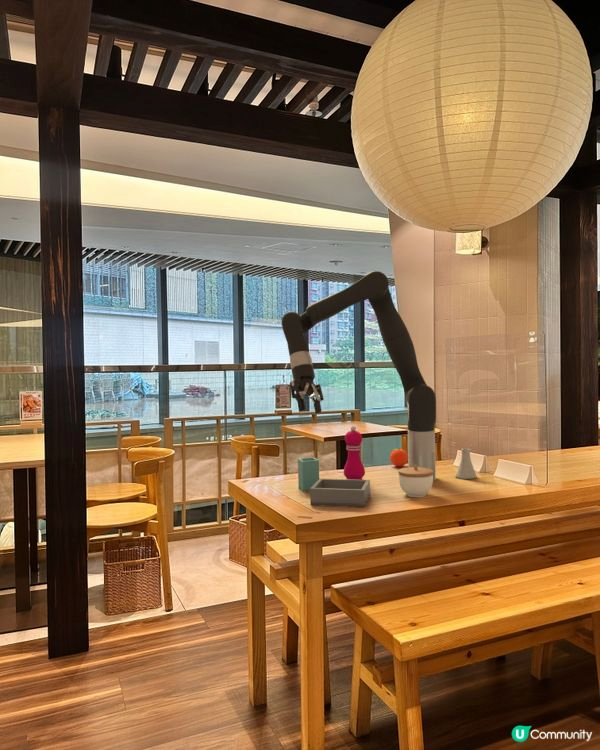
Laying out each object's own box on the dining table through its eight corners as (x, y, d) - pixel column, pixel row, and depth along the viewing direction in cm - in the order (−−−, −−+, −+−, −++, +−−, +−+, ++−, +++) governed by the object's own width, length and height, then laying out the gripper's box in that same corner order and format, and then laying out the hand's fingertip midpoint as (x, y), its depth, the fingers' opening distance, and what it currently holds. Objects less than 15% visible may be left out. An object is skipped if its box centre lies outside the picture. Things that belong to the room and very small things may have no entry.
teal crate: (314, 486, 201) (313, 457, 201) (319, 490, 196) (318, 460, 195) (298, 488, 200) (297, 458, 199) (303, 492, 194) (302, 461, 194)
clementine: (385, 467, 231) (384, 449, 231) (391, 464, 237) (390, 446, 237) (405, 468, 227) (404, 450, 227) (410, 465, 233) (410, 447, 233)
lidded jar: (399, 499, 182) (398, 468, 181) (398, 490, 192) (397, 461, 192) (435, 499, 180) (434, 468, 180) (432, 491, 191) (431, 462, 191)
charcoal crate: (370, 495, 187) (369, 479, 187) (364, 507, 173) (364, 490, 173) (320, 494, 191) (319, 478, 190) (310, 505, 177) (310, 488, 177)
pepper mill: (364, 487, 198) (362, 427, 197) (342, 487, 199) (341, 427, 198) (366, 482, 205) (364, 424, 204) (345, 482, 206) (343, 424, 205)
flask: (480, 477, 210) (480, 448, 210) (471, 480, 205) (470, 451, 204) (461, 474, 215) (461, 446, 215) (451, 478, 210) (451, 449, 209)
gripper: (296, 360, 198) (305, 406, 193) (323, 366, 209) (332, 410, 204) (280, 367, 202) (288, 413, 197) (306, 373, 213) (315, 416, 208)
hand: (310, 411), depth 200 cm, fingers open, 8 cm apart
